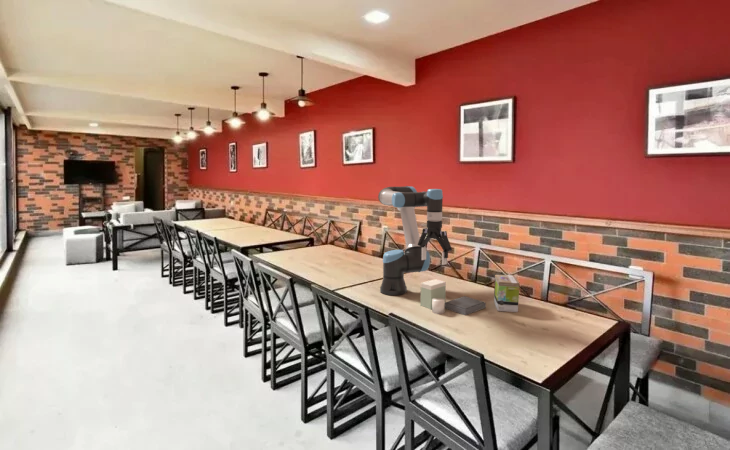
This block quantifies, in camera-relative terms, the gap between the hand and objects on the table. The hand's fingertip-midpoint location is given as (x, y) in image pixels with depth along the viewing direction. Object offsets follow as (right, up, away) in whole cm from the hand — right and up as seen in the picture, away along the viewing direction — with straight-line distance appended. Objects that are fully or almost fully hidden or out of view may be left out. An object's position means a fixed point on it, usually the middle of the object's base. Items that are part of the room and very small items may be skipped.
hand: (433, 262), depth 199 cm
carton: (0, -22, +3) cm, 23 cm away
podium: (+15, -23, -2) cm, 27 cm away
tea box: (+36, -23, -1) cm, 42 cm away
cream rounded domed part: (+1, -24, -6) cm, 24 cm away
